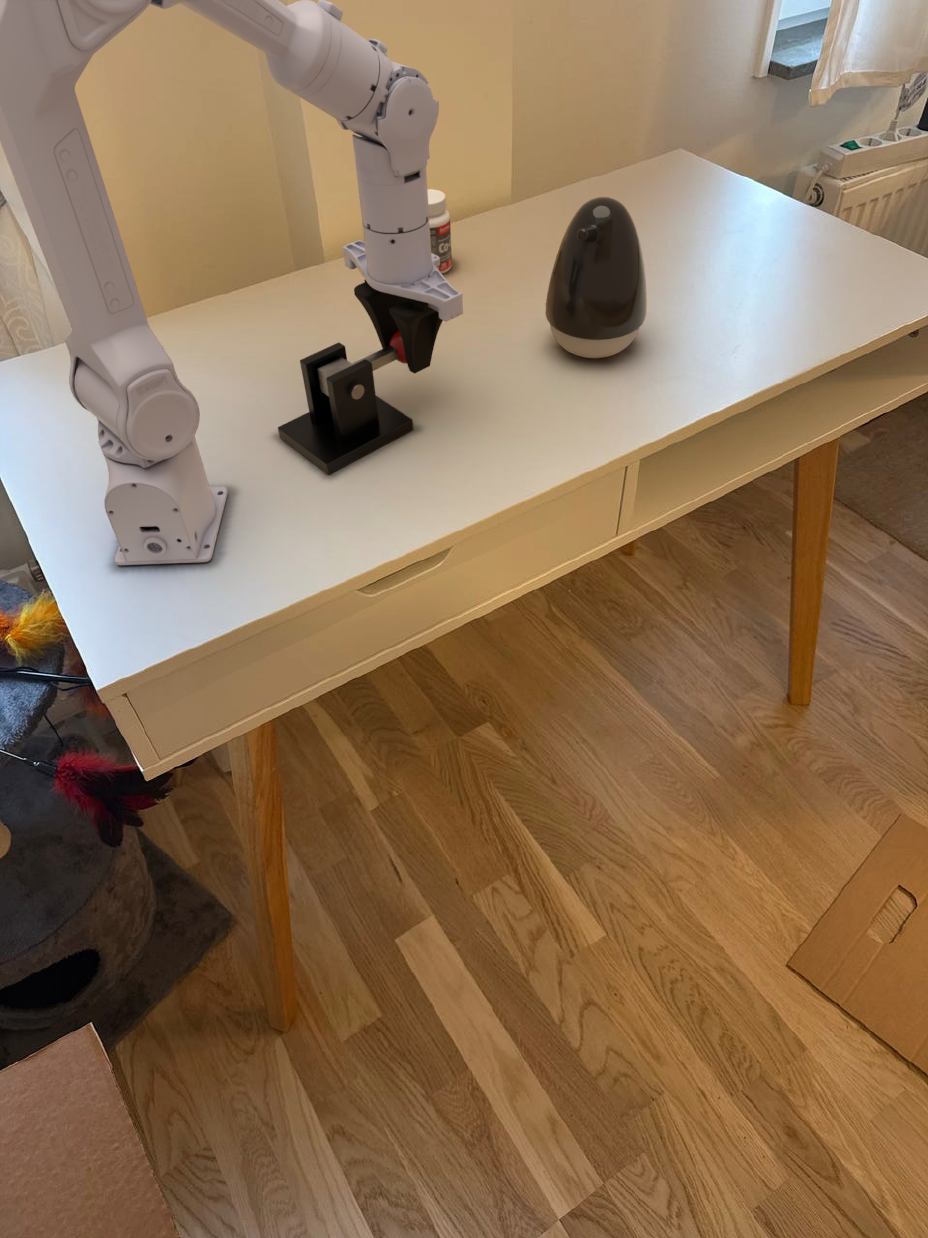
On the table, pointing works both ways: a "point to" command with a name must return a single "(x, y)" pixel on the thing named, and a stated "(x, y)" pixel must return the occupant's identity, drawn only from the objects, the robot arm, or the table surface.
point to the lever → (376, 359)
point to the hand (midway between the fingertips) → (408, 360)
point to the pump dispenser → (598, 282)
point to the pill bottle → (440, 229)
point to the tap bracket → (342, 414)
